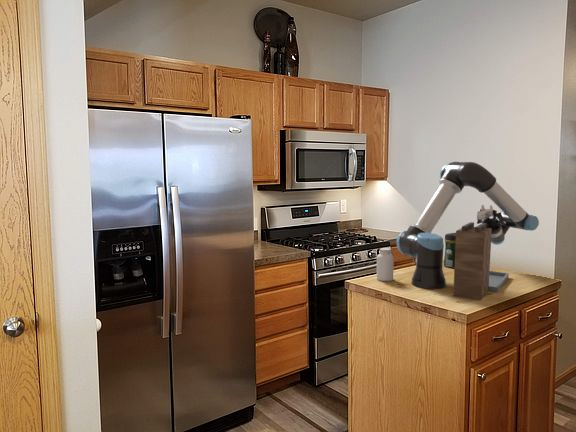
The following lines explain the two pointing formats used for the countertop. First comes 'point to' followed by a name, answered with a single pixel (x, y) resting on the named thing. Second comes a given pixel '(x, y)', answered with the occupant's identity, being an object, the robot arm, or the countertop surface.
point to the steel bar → (483, 214)
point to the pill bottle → (385, 265)
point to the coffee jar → (450, 250)
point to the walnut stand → (472, 261)
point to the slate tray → (496, 280)
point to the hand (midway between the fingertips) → (486, 207)
